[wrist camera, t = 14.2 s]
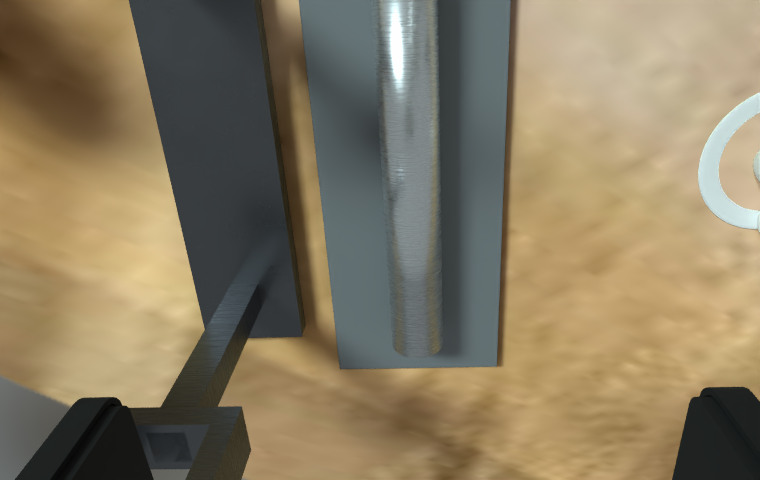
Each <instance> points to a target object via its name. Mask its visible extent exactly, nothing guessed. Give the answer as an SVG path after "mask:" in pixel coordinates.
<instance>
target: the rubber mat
mask: <svg viewBox="0 0 760 480" xmlns="http://www.w3.org/2000/svg"><path fill="white" fill-rule="evenodd" d="M510 3H511V0H438V28H439V102H440V175H441V248H442V322H443V345H442V348H441V349H440V350H439V351H438V352H437V353H436V354H434V355H432V356H429V357H425V358H409V357H405V356H402V355H400V354H398V353H397V352H396V351H395V350H394V349H393V346H392V334H391V318H390V302H389V285H388V269H387V252H386V236H385V219H384V203H383V187H382V170H381V154H380V137H379V121H378V104H377V88H376V72H375V55H374V39H373V22H372V6H371V0H299V5H300V14H301V23H302V32H303V41H304V50H305V59H306V68H307V77H308V86H309V95H310V104H311V113H312V122H313V131H314V140H315V149H316V158H317V167H318V176H319V185H320V194H321V203H322V212H323V221H324V230H325V239H326V248H327V257H328V266H329V275H330V284H331V293H332V302H333V311H334V320H335V329H336V338H337V347H338V356H339V365H340V369H376V368H435V367H495V366H497V345H498V318H499V292H500V266H501V239H502V213H503V187H504V160H505V134H506V108H507V82H508V55H509V29H510Z"/></svg>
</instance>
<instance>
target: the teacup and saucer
mask: <svg viewBox="0 0 760 480" xmlns="http://www.w3.org/2000/svg"><path fill="white" fill-rule="evenodd" d="M758 113H760V93H758V94H756V95H754V96H752V97H750V98H748V99H747V100H745V101H744V102H742V103H741V104H739V105H738V106H737V107H735V108H734V109H733V110H732V111H731V112H729V113H728V114H727V115H726V116H725V117H724V118H723V119H722V121H721V122H720V123H719V124H718V125H717V127H716V128H715V129H714V131H713V132H712V134H711V135H710V137H709V139H708V140H707V142H706V144H705V147H704V149H703V152H702V155H701V158H700V162H699V168H698V183H699V189H700V192H701V195H702V198H703V200H704V202H705V203H706V205H707V206H708V208H709V209H710V210H711V211H712V212H713V213H714V214H715V215H716V216H717V217H718V218H720V219H721V220H723V221H725V222H727V223H729V224H731V225H734V226H737V227H741V228H746V229H758V230H759V233H760V211H756V210H750V209H746V208H743V207H741V206H739V205H737V204H735V203H734V202H732V201H731V200H730V199H729V198H728V197H727V196H726V194H725V193H724V191H723V189H722V187H721V185H720V181H719V174H718V170H719V162H720V158H721V155H722V152H723V150H724V148H725V146H726V144H727V142H728V141H729V139H730V138H731V136H732V135H733V134H734V133H735V131H736V130H737V129H738V128H739V127H740V126H741V125H742V124H743V123H745V122H746V121H747V120H748V119H750V118H751V117H753V116H754V115H756V114H758ZM753 170H754V173H755V176H756V178H757V179H758V181H759V182H760V150H759V151H758V153H757V154H756V156H755V158H754V161H753Z"/></svg>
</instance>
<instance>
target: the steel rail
mask: <svg viewBox="0 0 760 480" xmlns="http://www.w3.org/2000/svg"><path fill="white" fill-rule="evenodd" d="M371 6H372V22H373V39H374V55H375V72H376V88H377V104H378V121H379V137H380V154H381V170H382V187H383V203H384V219H385V236H386V252H387V269H388V285H389V302H390V318H391V334H392V346H393V349H394V350H395V351H396V352H397V353H398V354H400V355H402V356H405V357H409V358H425V357H429V356H432V355H434V354H436V353H437V352H438V351H439V350H440V349H441V348H442V345H443V322H442V248H441V175H440V102H439V28H438V0H371Z"/></svg>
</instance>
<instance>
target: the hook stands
mask: <svg viewBox="0 0 760 480" xmlns="http://www.w3.org/2000/svg"><path fill="white" fill-rule="evenodd" d="M129 3H130V7H131V12H132V16H133V20H134V25H135V29H136V33H137V38H138V42H139V46H140V51H141V55H142V59H143V64H144V68H145V72H146V77H147V81H148V85H149V90H150V94H151V98H152V103H153V107H154V111H155V116H156V120H157V124H158V129H159V133H160V137H161V142H162V146H163V150H164V155H165V159H166V163H167V168H168V172H169V176H170V181H171V185H172V189H173V194H174V198H175V202H176V207H177V211H178V215H179V220H180V224H181V228H182V232H183V237H184V241H185V245H186V250H187V254H188V258H189V263H190V267H191V271H192V276H193V280H194V284H195V289H196V293H197V297H198V302H199V306H200V310H201V315H202V319H203V323H204V328H205V331H204V333H203V334H202V336H201V338H200V340H199V341H198V343H197V345H196V347H195V348H194V350H193V352H192V354H191V355H190V357H189V359H188V360H187V362H186V364H185V366H184V367H183V369H182V371H181V373H180V374H179V376H178V378H177V380H176V381H175V383H174V385H173V387H172V388H171V390H170V392H169V393H168V395H167V397H166V399H165V400H164V402H163V404H162V406H161V407H160V408H129V409H130V411H131V414H132V417H133V420H134V423H135V426H136V428H137V431H138V434H139V437H140V440H141V443H142V446H143V449H144V452H145V455H146V458H147V461H148V464H149V467H150V469H190V471H189V473H188V475H187V478H186V480H241V479H242V476H243V473H244V470H245V467H246V464H247V461H248V458H249V455H250V452H251V448H250V443H249V438H248V434H247V429H246V424H245V420H244V415H243V410H242V406H241V407H218V404H219V402H220V400H221V398H222V395H223V393H224V391H225V389H226V386H227V384H228V382H229V380H230V377H231V375H232V373H233V371H234V368H235V366H236V364H237V362H238V359H239V357H240V355H241V353H242V350H243V348H244V346H245V344H246V341H247V339H248V338H263V337H302V336H303V332H304V329H305V326H306V325H305V318H304V311H303V304H302V297H301V289H300V282H299V275H298V268H297V260H296V253H295V246H294V239H293V231H292V224H291V217H290V210H289V203H288V195H287V188H286V181H285V174H284V166H283V159H282V152H281V145H280V137H279V130H278V123H277V116H276V109H275V101H274V94H273V87H272V80H271V72H270V65H269V58H268V51H267V43H266V36H265V29H264V22H263V14H262V7H261V0H129Z"/></svg>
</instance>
